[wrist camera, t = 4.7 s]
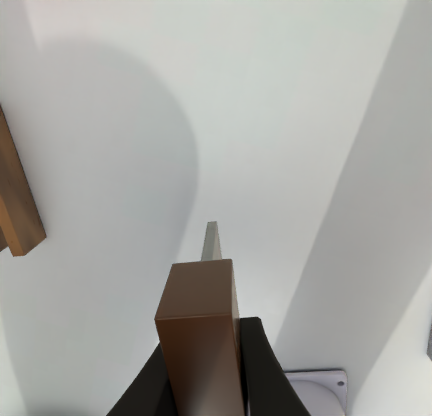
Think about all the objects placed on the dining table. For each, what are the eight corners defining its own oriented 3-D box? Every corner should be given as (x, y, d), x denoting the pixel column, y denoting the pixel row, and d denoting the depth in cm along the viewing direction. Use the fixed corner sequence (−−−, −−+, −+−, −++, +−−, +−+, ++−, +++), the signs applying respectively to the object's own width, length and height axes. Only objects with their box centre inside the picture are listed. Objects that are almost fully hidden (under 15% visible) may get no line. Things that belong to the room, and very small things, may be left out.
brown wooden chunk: (247, 339, 15) (256, 499, 9) (211, 341, 16) (198, 500, 10) (232, 208, 13) (232, 313, 7) (189, 212, 13) (153, 318, 7)
